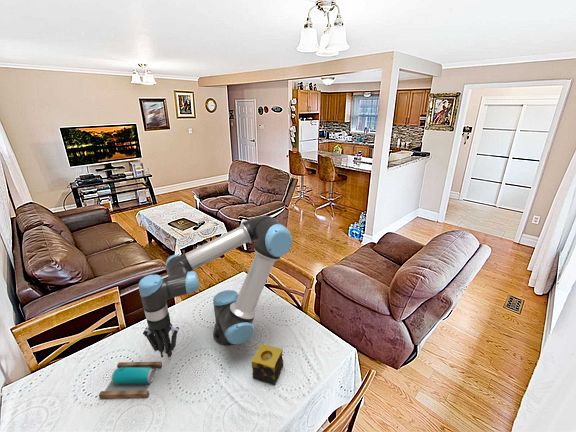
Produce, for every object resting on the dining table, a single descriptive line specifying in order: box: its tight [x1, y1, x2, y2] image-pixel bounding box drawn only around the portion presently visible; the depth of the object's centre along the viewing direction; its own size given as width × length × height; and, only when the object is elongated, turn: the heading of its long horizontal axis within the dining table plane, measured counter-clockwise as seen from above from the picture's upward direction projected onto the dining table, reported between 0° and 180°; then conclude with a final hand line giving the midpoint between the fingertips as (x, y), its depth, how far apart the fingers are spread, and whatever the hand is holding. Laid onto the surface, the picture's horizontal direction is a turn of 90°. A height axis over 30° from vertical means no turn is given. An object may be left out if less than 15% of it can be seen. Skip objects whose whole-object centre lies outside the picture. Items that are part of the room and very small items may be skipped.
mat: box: [104, 369, 157, 391], centre depth 115 cm, size 16×11×1 cm
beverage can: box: [110, 367, 156, 384], centre depth 114 cm, size 6×6×15 cm
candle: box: [251, 343, 284, 386], centre depth 117 cm, size 10×10×10 cm
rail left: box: [98, 389, 150, 400], centre depth 109 cm, size 18×2×2 cm, turn 91°
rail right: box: [116, 361, 163, 370], centre depth 121 cm, size 18×2×2 cm, turn 91°
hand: (168, 362), depth 112 cm, fingers closed
